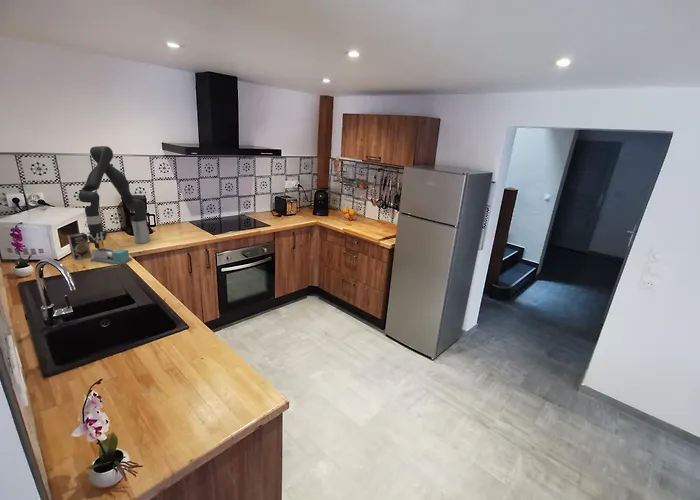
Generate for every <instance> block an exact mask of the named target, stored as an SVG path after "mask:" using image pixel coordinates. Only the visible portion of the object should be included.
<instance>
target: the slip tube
mask: <svg viewBox="0 0 700 500" xmlns="http://www.w3.org/2000/svg"><path fill="white" fill-rule="evenodd" d="M98 243H99V249H97V248H95V249H96V250H103V249H102V248H104V246H103V244H104V243H103V244H102V240H98ZM107 255H108V257H112V258H113V256H112V252H109V251H108V252H107Z"/></svg>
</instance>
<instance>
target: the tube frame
mask: <svg viewBox="0 0 700 500" xmlns="http://www.w3.org/2000/svg"><path fill="white" fill-rule="evenodd" d="M102 249H103V250H98V249H96V248H94V249H91V255H92V257H91V258H90V262H93V261H94V262H95V263H100V262H101V263H102V264H106V263H108V264H109V265H113V264H117V265H116V266H121V265H120V264H122V265H124V264H126V263H129V262H130V261H132V260H133V258H132V257H130V254H129V250H128V249H123V248H120V249H117V250H114V249H113V248H107V247H103V248H102ZM108 251H109V252H112V256H113V258H112V257H108V255H107V252H108ZM123 263H124V264H123Z"/></svg>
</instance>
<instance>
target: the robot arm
mask: <svg viewBox="0 0 700 500" xmlns="http://www.w3.org/2000/svg"><path fill="white" fill-rule="evenodd" d="M89 153H90V155H91V158H92V159H93V161H95V163H96V165H95V167H94V168H92V170H91V171H90V172H89V174H88V176H87V179H86V182H85V184H84V185H83V187H82V188H81V189H80V191H79V193H78V200H79V201H80V202H81V203H90V205H88V206H85V207H84V212H85V216H86V217H85V218H86V219H85V221H86V223H87V229H88V231H89V234H87V236H86V237H87V239H88V242H90V243H91V244H93V245H94V249H96V248H97V249H96V250H98V249H99V243H98V240H102V244H103V247H105V246H104V241H105V240H106V238H107V233H108V231H107V230H103V228H104V227H103V222H102V219H101V214H100V210H99V209H100V208H99V207H100V206H99V205H100V199H101V198H100V197H101V196H100V194H99V193H98V192H97V190H99V189H100V186H101V183H102V179H103V177H104V174H105V175H106V177H107V178H108V180H109V181H110V183H111V184H112V186H113V187H114V188H115V190H116V191H117V192H118V194H119V196H120V197H121V200H123V202H124V205H125V206H126V208H127V209H128V210H129V211H131V212H134V215H132V216H131V224H132V230H133V231H132V232H133V237H134V242H135V244H138V245H139V244H148V243H149V242H150V241H151V237H150V231H149V228H148V225H147V218H146V217H147V207H146V203H145V201H144V200H142V199H138V198H135V197H134V196H133V194H132V193H131V191H130V183H129V180H128V179H127V178H126V176H125V174H123V173H122V172H121V171H120V170H118V169H117V168H116V167H114V166H113V165H112V164H111V162H112V160H113V157H114V151H113V150H112V149H111V147H109V146H107V145H99V146H92V147H91V148H90V150H89Z"/></svg>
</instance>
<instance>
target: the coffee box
mask: <svg viewBox="0 0 700 500" xmlns="http://www.w3.org/2000/svg"><path fill="white" fill-rule="evenodd" d="M86 236H88V234H87V233H85V232H79V233H74V234H68V235H67V239H68V245H69V247H70V248H69V249H70V253H71V258H72V259H73V260H74V261H80V260H83V259H89V258H92V251H91V249H90V244H89V240H88V239H87V237H86Z"/></svg>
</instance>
